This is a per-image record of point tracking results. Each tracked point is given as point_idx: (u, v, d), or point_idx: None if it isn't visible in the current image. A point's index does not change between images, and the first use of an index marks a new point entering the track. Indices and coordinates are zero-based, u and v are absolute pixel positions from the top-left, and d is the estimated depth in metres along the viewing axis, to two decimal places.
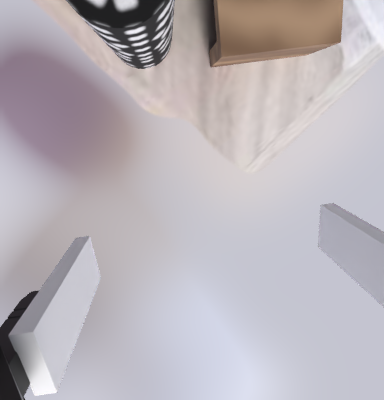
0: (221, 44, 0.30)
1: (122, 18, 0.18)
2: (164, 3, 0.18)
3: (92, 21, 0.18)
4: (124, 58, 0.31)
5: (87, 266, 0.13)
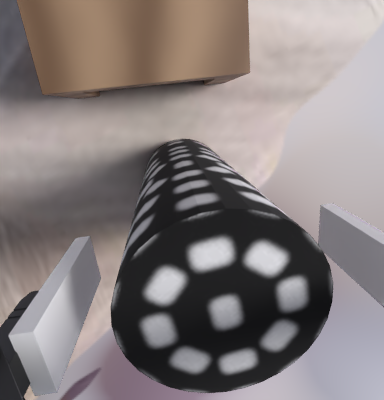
0: (231, 73, 0.18)
1: (318, 299, 0.10)
2: (303, 230, 0.09)
3: None
4: None
5: (87, 266, 0.13)
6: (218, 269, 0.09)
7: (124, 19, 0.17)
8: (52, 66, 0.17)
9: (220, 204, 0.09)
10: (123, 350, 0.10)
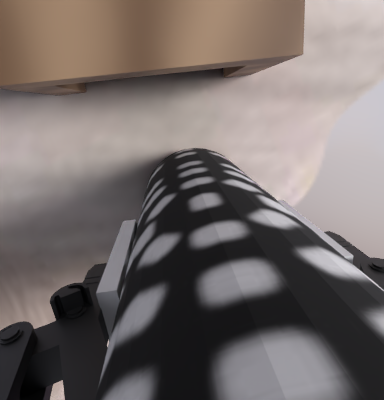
0: (275, 54, 0.12)
1: None
2: None
3: None
4: None
5: None
6: None
7: None
8: None
9: None
10: None
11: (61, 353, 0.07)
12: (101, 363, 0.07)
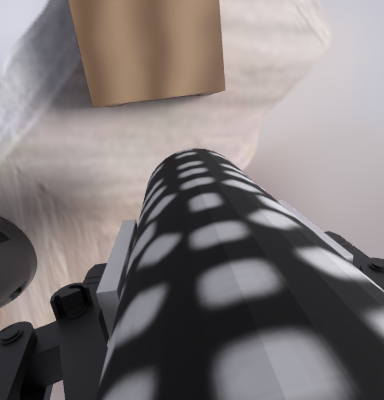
0: (213, 90, 0.28)
1: None
2: None
3: None
4: None
5: None
6: None
7: (144, 59, 0.27)
8: (99, 89, 0.27)
9: None
10: None
11: (61, 353, 0.07)
12: (101, 363, 0.07)
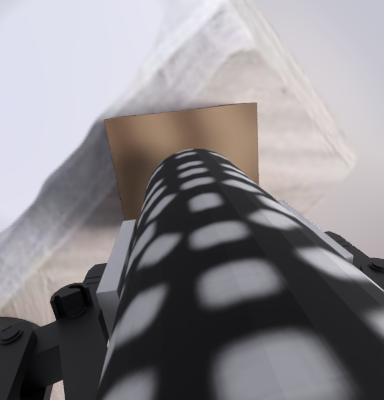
0: None
1: None
2: None
3: None
4: None
5: None
6: None
7: None
8: None
9: None
10: None
11: (61, 353, 0.07)
12: (101, 362, 0.07)
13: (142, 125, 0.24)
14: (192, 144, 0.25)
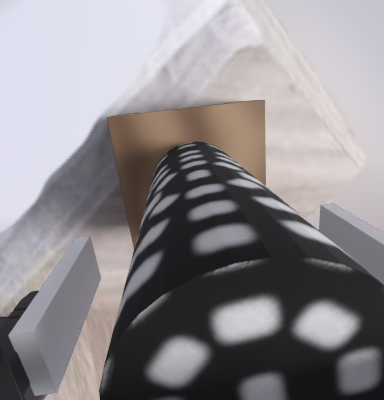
0: None
1: None
2: (383, 285, 0.06)
3: None
4: None
5: (87, 266, 0.13)
6: (254, 340, 0.06)
7: None
8: None
9: (260, 247, 0.06)
10: None
11: None
12: None
13: (145, 123, 0.24)
14: None
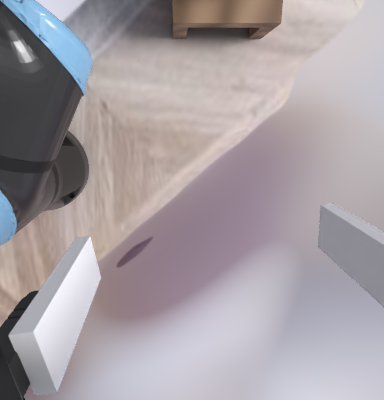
0: (271, 22, 0.35)
1: None
2: None
3: None
4: None
5: (87, 266, 0.13)
6: None
7: None
8: (181, 8, 0.33)
9: None
10: None
11: None
12: None
13: None
14: None
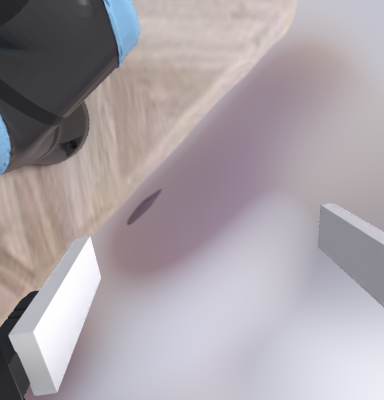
0: None
1: None
2: None
3: None
4: None
5: (87, 266, 0.13)
6: None
7: None
8: None
9: None
10: None
11: None
12: None
13: None
14: None
